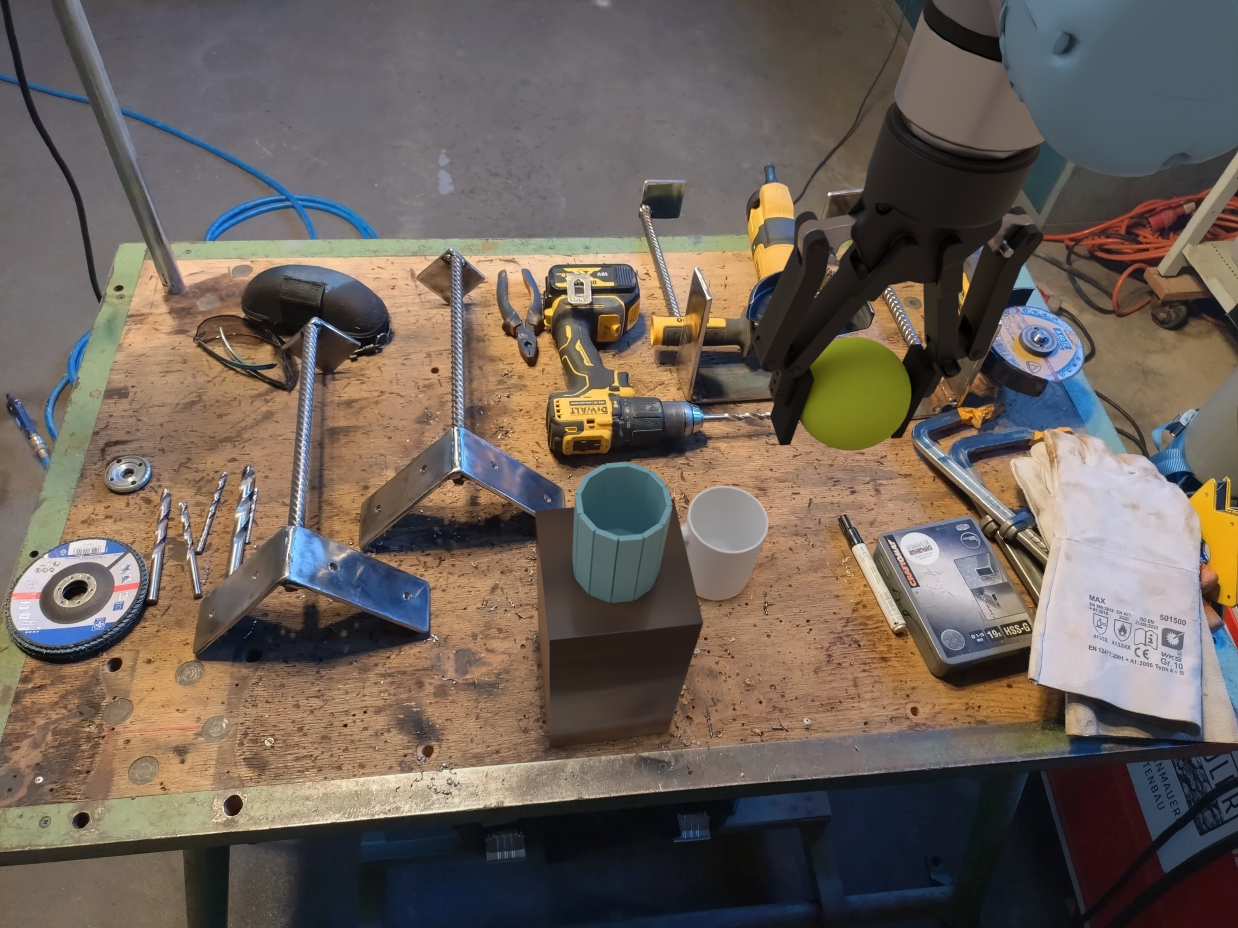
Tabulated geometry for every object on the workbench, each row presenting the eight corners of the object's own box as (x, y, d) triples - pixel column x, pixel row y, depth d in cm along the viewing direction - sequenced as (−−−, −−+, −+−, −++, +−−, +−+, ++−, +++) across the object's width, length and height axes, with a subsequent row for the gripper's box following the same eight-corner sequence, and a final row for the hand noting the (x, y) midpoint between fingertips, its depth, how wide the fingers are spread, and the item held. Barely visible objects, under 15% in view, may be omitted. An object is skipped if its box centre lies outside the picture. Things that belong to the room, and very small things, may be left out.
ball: (904, 469, 55) (947, 393, 49) (798, 476, 54) (829, 399, 48) (868, 389, 60) (904, 311, 54) (770, 394, 59) (795, 315, 53)
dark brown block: (668, 732, 81) (703, 623, 62) (549, 748, 79) (548, 640, 60) (647, 625, 88) (674, 498, 69) (538, 637, 87) (535, 510, 68)
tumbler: (665, 597, 63) (679, 535, 56) (578, 606, 62) (582, 544, 55) (650, 525, 68) (661, 458, 60) (568, 532, 67) (570, 465, 59)
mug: (640, 545, 95) (649, 492, 86) (738, 535, 96) (756, 482, 88) (654, 610, 89) (665, 560, 81) (757, 598, 91) (778, 548, 83)
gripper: (1117, 81, 43) (949, 381, 61) (746, 81, 40) (685, 395, 58) (1198, 159, 38) (990, 459, 56) (785, 165, 35) (706, 478, 53)
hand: (835, 426), depth 57 cm, fingers closed on ball, 7 cm apart
